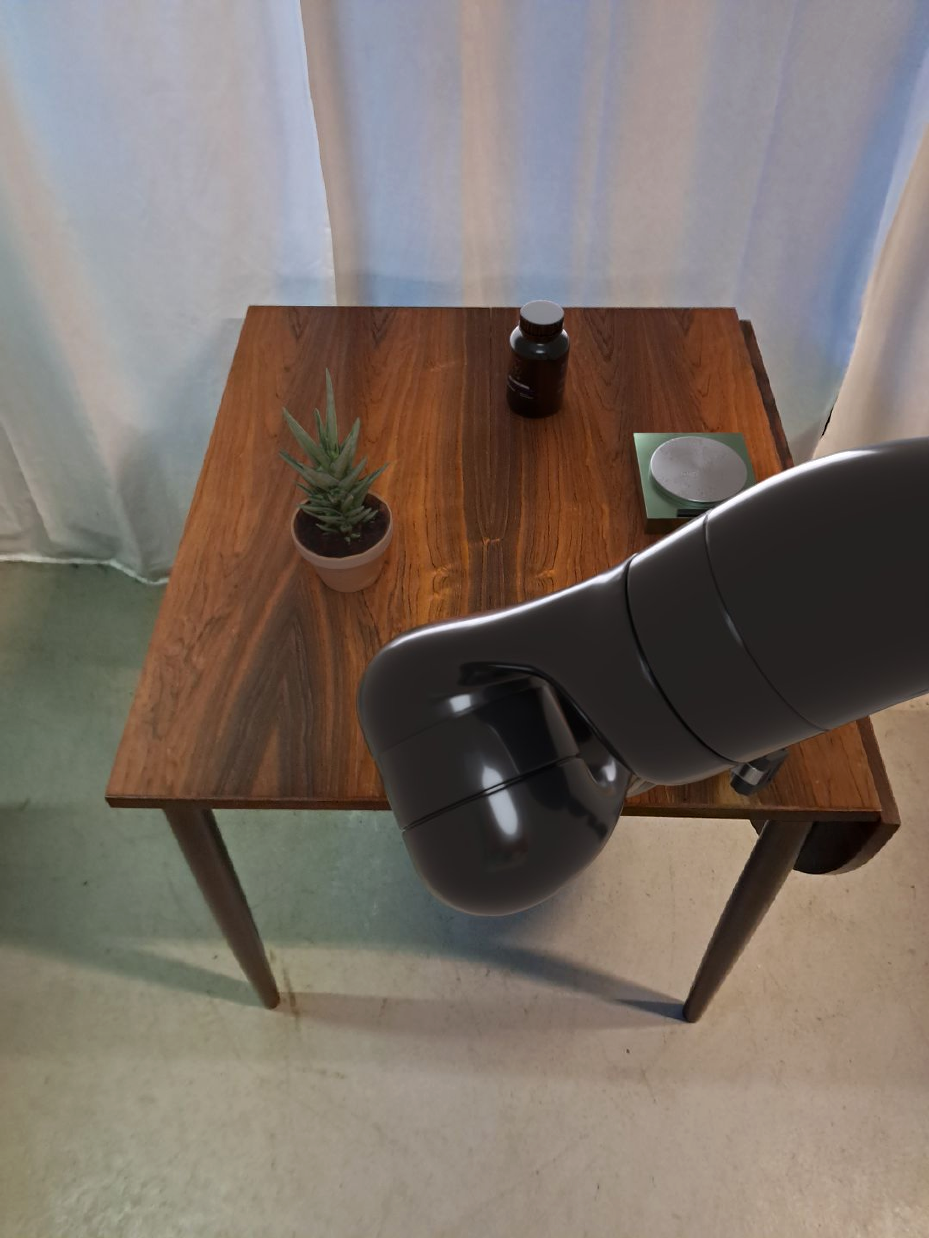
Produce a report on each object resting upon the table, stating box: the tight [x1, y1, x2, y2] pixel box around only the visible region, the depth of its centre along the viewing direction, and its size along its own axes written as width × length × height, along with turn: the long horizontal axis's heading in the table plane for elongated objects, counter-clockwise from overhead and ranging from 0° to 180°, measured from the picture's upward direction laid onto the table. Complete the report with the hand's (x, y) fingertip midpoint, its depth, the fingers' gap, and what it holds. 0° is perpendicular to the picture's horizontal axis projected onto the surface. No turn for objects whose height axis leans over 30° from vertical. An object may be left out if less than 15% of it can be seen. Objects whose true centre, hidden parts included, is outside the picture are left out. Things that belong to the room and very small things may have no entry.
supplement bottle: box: [505, 299, 571, 419], centre depth 100 cm, size 7×7×12 cm
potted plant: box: [277, 366, 395, 593], centre depth 79 cm, size 10×10×25 cm
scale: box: [630, 432, 758, 535], centre depth 94 cm, size 13×12×3 cm
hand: (697, 698), depth 61 cm, fingers open, 8 cm apart
